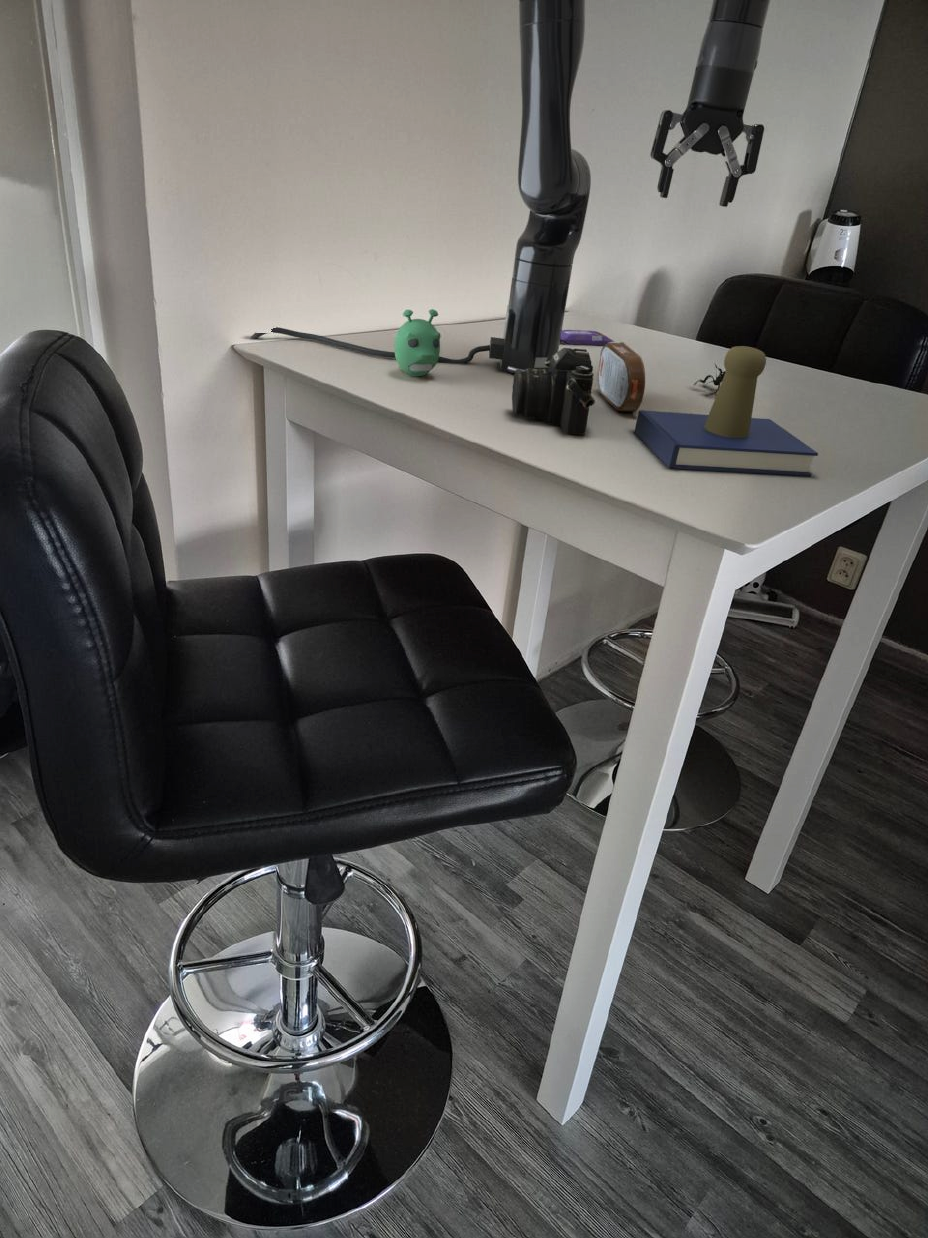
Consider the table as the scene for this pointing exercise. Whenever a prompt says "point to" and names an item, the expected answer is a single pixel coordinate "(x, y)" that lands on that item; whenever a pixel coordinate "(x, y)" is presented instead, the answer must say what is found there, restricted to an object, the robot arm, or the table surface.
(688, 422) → the book
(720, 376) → the creature
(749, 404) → the cork
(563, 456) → the table surface
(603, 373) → the tin
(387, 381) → the table surface
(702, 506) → the table surface
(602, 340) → the snack package
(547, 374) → the film camera
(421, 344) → the alien toy
